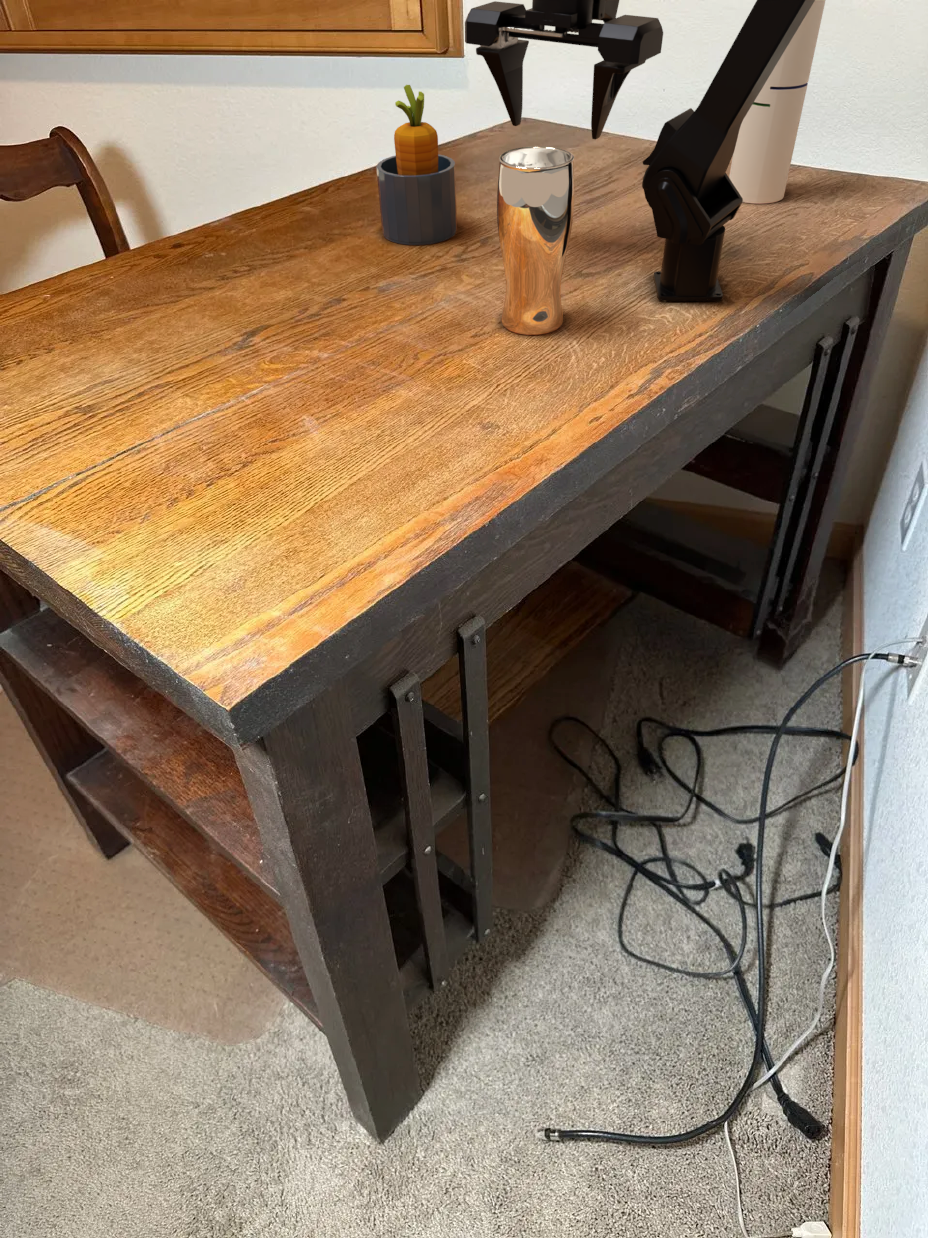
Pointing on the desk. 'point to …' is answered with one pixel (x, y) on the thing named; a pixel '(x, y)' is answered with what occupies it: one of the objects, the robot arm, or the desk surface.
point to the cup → (417, 203)
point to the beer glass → (534, 234)
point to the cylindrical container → (775, 119)
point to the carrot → (415, 139)
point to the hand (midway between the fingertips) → (555, 131)
